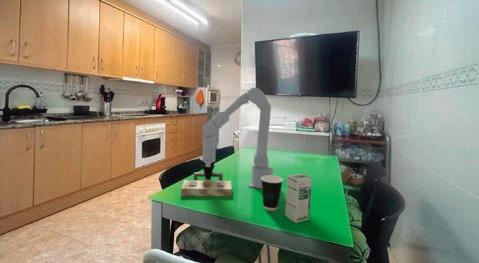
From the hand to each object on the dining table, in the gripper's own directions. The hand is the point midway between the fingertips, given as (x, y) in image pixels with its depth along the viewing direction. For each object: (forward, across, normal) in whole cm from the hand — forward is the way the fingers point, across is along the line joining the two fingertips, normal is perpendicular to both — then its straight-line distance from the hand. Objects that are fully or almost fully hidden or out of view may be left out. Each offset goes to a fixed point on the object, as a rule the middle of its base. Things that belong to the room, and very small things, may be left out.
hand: (208, 178), depth 113 cm
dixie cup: (+2, +26, +24) cm, 36 cm away
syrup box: (+2, +34, +31) cm, 46 cm away
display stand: (+2, +11, 0) cm, 11 cm away
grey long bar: (+2, 0, 0) cm, 2 cm away
